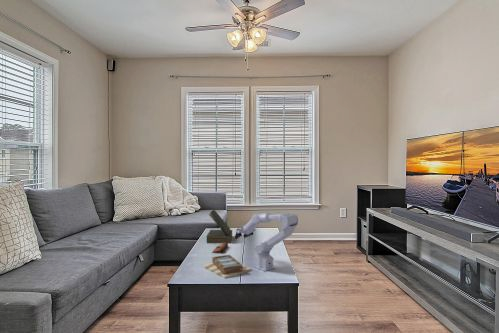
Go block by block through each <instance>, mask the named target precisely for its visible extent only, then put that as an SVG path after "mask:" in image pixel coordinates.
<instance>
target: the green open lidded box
mask: <svg viewBox="0 0 499 333" xmlns="http://www.w3.org/2000/svg"><path fill="white" fill-rule="evenodd" d="M208 216H209V217H210V218H211V219H212V220H213V221H214V222H215V223H216V226H218V228H219V229H210V230H209V231H208V233H207V234H206V244H222V243H227V244H231V242H232V238H233V229H231V228H230V227H229V225H228V224H227V223H226V222H225V221H224V219H223V218H222V217H221V216H220V215H219V213H218V212H217V211H216V210H215V209H212V210H211V211H210V212H209V214H208Z"/></svg>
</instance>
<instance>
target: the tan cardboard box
mask: <svg viewBox="0 0 499 333" xmlns="http://www.w3.org/2000/svg"><path fill="white" fill-rule="evenodd" d="M211 259H212V260H211V263H213V264H214V265H215V266H216V267H217V268H218V269H219V270H220V271H221V272H222V273H223V274H228V273H234V272H241V271H243V265H244V264H242V263H241V262H239V261H238V260H237V259H236V258H234V257H233V256H232V255H231V254H224V255H218V256H212V257H211Z"/></svg>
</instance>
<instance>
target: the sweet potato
mask: <svg viewBox="0 0 499 333" xmlns="http://www.w3.org/2000/svg"><path fill="white" fill-rule="evenodd" d="M228 247H229V243H219V244H218V245H216V247H215V248H214V249H213V250H212V252H211V253H212V254H223V253H224V252H225V250H226V249H227V248H228Z"/></svg>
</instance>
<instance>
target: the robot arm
mask: <svg viewBox="0 0 499 333" xmlns="http://www.w3.org/2000/svg"><path fill="white" fill-rule="evenodd" d="M272 221H278V223H280V226H281V231H279V232H278V233H277V234H275V235H273V236H272V237H270V238H269V239H267V240H265V241H263V242H261V243H257V244H256V245H255V248H254V249H255V250H254V251H255V252H256V254H257V265H255V266H254V267H255V268H256V269H259V270H261V271H263V272H267V271H269V270H273V269H274V257H273V256H272V255H271V254H270V253H271V251H272V249H273V248H274V246H277V245H278V244H279V243H281V242H283V241H284V240H286V239H287V238H289V237H291V236H292V235H293V233H294V231H295V229H296V227H297V226H298V225H299V217H298V215H296V214H295V213H277V214H271V213H270V212H267V211H266V212H263V213H261V212H259V213H254V214H252V216H251V219H250V220H249V221H248V222H247V223H246V224H243V226H242V227H241V228H236V230H235V232H236V233H235V234H234V239H235V240H238V239H239V238H240V237H243V238H244V239H247V238H248V237H250V236H253V235H254V232H256V228H257V226H258V225H260V224H262V223H263V224H265V223H266V224H267V223H271V222H272Z"/></svg>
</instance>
